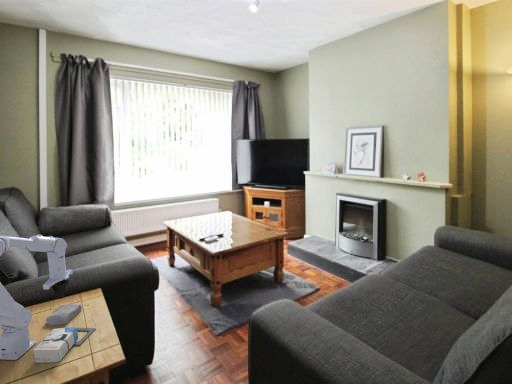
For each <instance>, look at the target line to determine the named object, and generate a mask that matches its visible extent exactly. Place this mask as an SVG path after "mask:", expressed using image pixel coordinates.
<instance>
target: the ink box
mask: <svg viewBox="0 0 512 384" xmlns="http://www.w3.org/2000/svg"><path fill="white" fill-rule="evenodd" d="M77 328H78V327H69V328H62V327H60V328H59V327H58V328H53V329H52V330H51V331H50V332H49V334H47V336H46V337H45V338H44V339H42V341H40V342H39V344H38V345H37V346H36V347H35V348H34V349H33V350H32V354H33V361H34V363H39V364H40V363H58V362H61V361H62V359H63V358H65V356H66V355H67V353H68V352H69V351H70V350H71V348H72V347H73V346H74V345H73V344H74V343H75V342H78V339H79V334H78V331H77Z"/></svg>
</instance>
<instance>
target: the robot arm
mask: <svg viewBox="0 0 512 384" xmlns="http://www.w3.org/2000/svg"><path fill="white" fill-rule="evenodd" d="M67 247H68V242H67V241H66V240H65V239H64V238H62V237H61V238H60V237H54V236H52V235H48V236H43V234H36V235H31V236H30V237H29V238H25V237H18V236H17V237H16V236H9V235H8V236H6V235H0V257H1V256H2V254H3V253H4V252H7V251H8V250H9V248H27V250H28V251H29V252H40V253H42V252H43V253H45V252H46V255H47V263H48V271H49V273H48V274H49V278H48V279H47V281H45V283H44V284H42V289H43V290H50V289H52V291H53V292H54V294H55V296H56V298H57V299H59V300H60V299H63V298H65V294H66V289H67V286H68V284H69V282H70V279H69V278H70V275H73V269H67V266H66V258H65V257H66V249H67ZM32 320H33V313H32V311H31V310H30V309H26V308H25V307H24V305H22V304H20V303H18V302H16V301H15V300H14V298H13V297H12V296H11V294H10V292H8V290H7V288H6V287H5V286H4V285H3V284H2V283H1V281H0V329H1V332H0V360H5V361H6V360H7V361H8V360H9V361H12V360H13V361H16V360H18V359H19V358H21V356H23V355H24V354H25V353H27V352H28V351H29V350H30V349H31V348H32V347H34V346H35V345H36V344H37V343H38V341H37V340H31V337H30V328H29V326H30V323H31V321H32Z"/></svg>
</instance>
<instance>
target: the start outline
mask: <svg viewBox="0 0 512 384" xmlns="http://www.w3.org/2000/svg"><path fill="white" fill-rule="evenodd" d="M61 328H70V327H67V326H66V327H65V326H63V327H62V326H61ZM76 328H77V332H87V333H86V334H85V335H84V336H83V337H82V338H81V339H80V340H79V341H76V342H75V343H74V344H73V346H77V347H78V346H81V345H83V343H84V342H85V341H86V340H87V339H88V338H89V337H90V336H91V335H92V334H93V333H94V331H96V330H97V328H96V327H76Z"/></svg>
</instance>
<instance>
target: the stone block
mask: <svg viewBox="0 0 512 384" xmlns="http://www.w3.org/2000/svg"><path fill="white" fill-rule="evenodd" d="M82 308H83V307H82V304H80V303H75V302H74V303H66V304H65V303H64V304H62V305H59V306H58V307H57V308H55V309H54V310H53V311H52V313H50V314H49V315H47V316H46V318H45V322H46V324H47V325H48V326H49V325H51V326H54V325H67V324H69V323H70V322H71V321H72V320H73V319H74V318H75V317H77V315H78V314H79V313H80V312H81V311H82Z"/></svg>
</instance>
